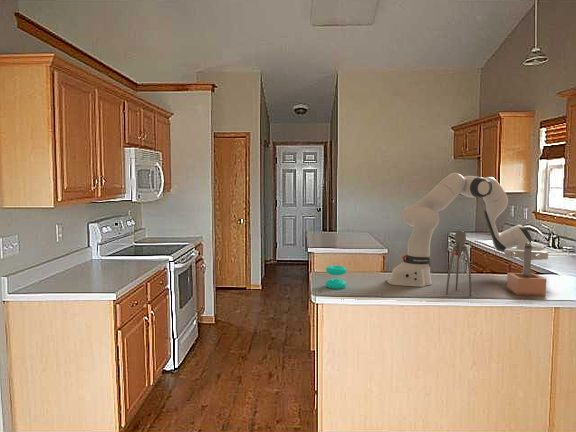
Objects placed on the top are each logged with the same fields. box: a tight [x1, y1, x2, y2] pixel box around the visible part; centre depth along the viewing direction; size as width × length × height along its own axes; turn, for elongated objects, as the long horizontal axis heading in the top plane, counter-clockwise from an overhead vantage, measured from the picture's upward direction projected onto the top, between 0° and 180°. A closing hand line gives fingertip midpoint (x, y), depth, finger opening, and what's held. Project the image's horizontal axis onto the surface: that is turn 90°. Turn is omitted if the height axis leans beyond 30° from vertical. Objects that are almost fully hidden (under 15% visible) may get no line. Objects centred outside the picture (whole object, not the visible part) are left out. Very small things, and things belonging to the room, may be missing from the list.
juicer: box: [445, 229, 472, 297], centre depth 246 cm, size 10×11×30 cm
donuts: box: [325, 265, 347, 290], centre depth 255 cm, size 10×10×10 cm
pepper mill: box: [522, 242, 532, 278], centre depth 248 cm, size 5×5×23 cm
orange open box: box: [506, 272, 547, 297], centre depth 249 cm, size 13×13×8 cm
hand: (526, 256), depth 259 cm, fingers open, 8 cm apart
